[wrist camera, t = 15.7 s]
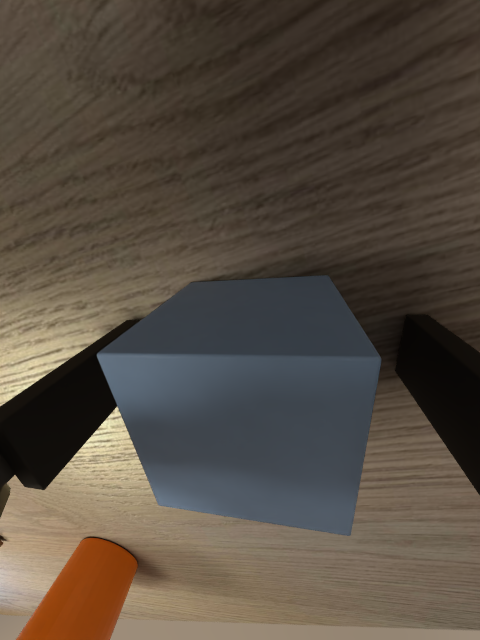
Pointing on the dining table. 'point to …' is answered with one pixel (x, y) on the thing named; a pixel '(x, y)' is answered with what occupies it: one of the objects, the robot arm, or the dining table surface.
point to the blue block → (250, 400)
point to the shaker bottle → (84, 595)
